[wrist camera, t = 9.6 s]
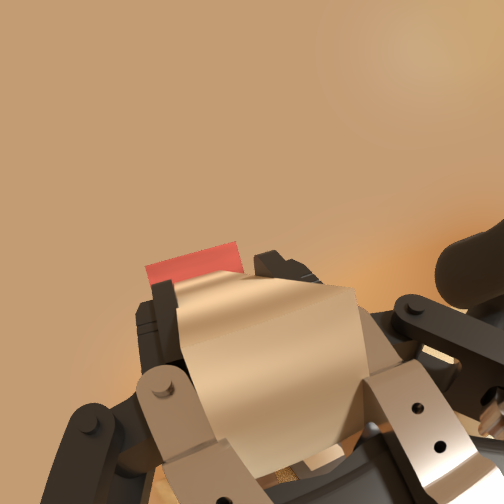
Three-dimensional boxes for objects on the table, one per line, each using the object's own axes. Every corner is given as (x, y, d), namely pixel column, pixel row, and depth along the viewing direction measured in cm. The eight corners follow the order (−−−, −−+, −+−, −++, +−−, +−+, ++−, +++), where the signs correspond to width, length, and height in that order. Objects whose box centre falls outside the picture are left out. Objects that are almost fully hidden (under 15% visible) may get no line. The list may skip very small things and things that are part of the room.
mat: (338, 431, 49) (338, 429, 49) (386, 470, 33) (386, 468, 33) (283, 457, 45) (282, 454, 45) (320, 508, 30) (320, 505, 30)
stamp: (423, 388, 5) (393, 189, 5) (163, 502, 4) (58, 275, 4) (238, 299, 24) (223, 245, 24) (166, 321, 22) (150, 265, 22)
